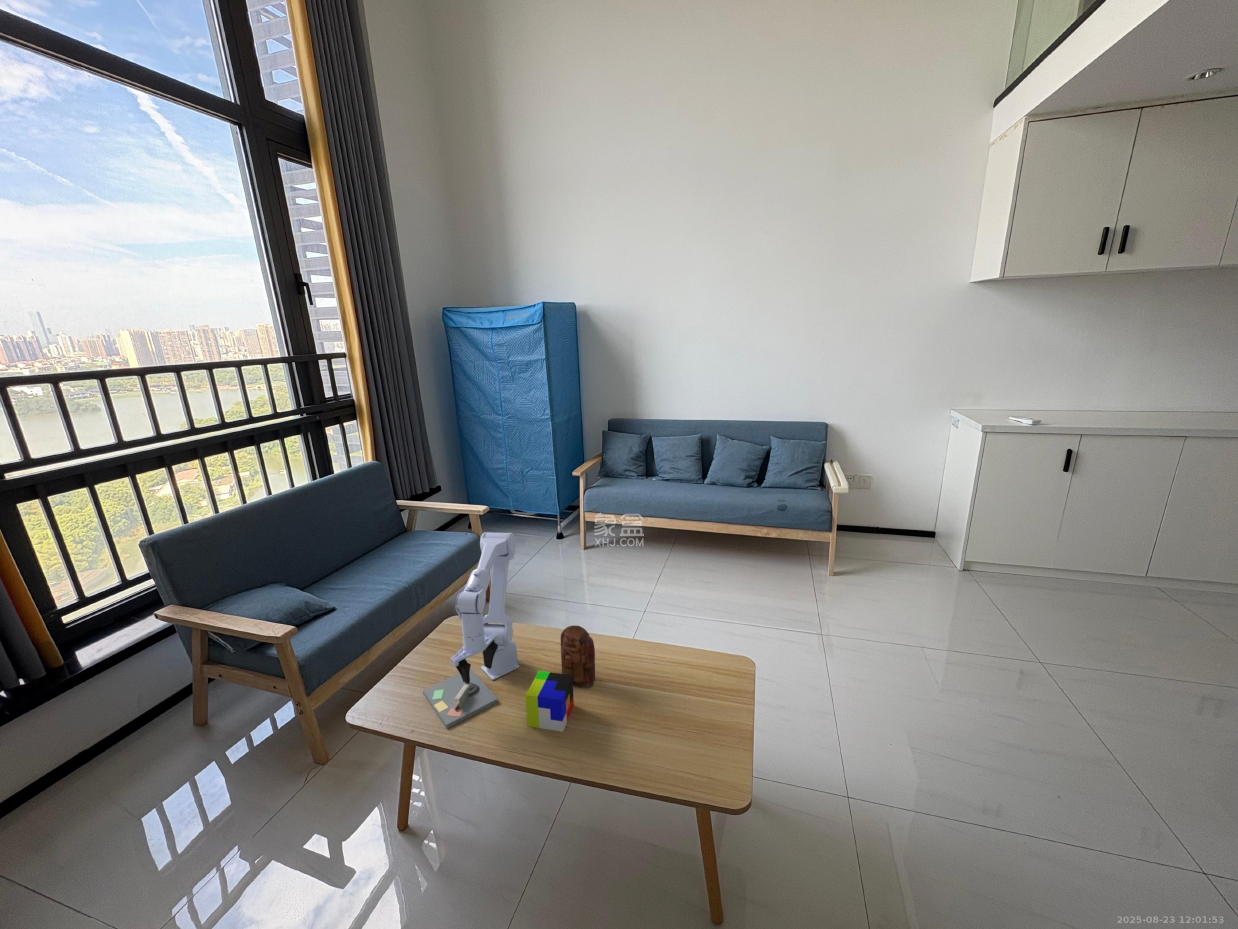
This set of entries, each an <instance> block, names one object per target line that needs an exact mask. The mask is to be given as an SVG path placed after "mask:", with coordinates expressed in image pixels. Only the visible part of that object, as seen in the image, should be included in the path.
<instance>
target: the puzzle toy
mask: <svg viewBox="0 0 1238 929" xmlns="http://www.w3.org/2000/svg"><path fill="white" fill-rule="evenodd" d="M574 702H575V700H574V686H573V675H568V674H562V673H558V672H551V671H542V670H538V672H537V674H536V675H535V677H534V679H533V681H532V682H531V685H530V686H529V689H528V690H527V692H526V694H525V705H526V706H525V707H526V720H527V727H528V728H529V727H530V728H535V729H536V728H537V729H542V730H550V731H555V732H556V731H557V732H562V733H563V732H564V731H565V728H566V725H567V723H568V721H569V718H570V716H571V713H572V710H573V708H574V707H575V703H574Z"/></svg>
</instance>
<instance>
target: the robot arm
mask: <svg viewBox="0 0 1238 929" xmlns="http://www.w3.org/2000/svg"><path fill="white" fill-rule="evenodd" d="M479 540H480V541H479V547H480V552H481V555H480V558H479V562H478V564H477V567H476V569H473V570H472V571H471V573H470V575H469V578H468V580H467V582H466V584H465V586H464V589H463V591H461V592H459V593H458V594H457V596H456V600H455V611H456V613H457V615H458V618H459V620H460V621H461V632H462V640H463V641H462V642H463V643H462V647H461V648H460V649H459V650H458V651H457V652H456V654H455V655H453V656H452V657H450V665H451V666H453V667H455V668H456V670H457V671H458V672H459V673H460V675H461V677H462V680H463V682H465V683H466V684H469V683H470V669H471V666H472V664H471V663H469V662H468V660H467V659H469V658H471V657H474V656H476V655H479V654H482V656H483V664H484V665H481V670H482V671H483V672H484V673H485V674H486V675H487V677H488V678H489V679H490V680H491V681H494V680H496V679H498V678H500V677H502V676H504V675H506V674H509V673H511V672H513V671H515V670H516V669H519V668H520V665H519V663H518V662H519V659H518V648H517V643H516V642H515V640H514V639H513V636H514V629H513V620H512V619H511V617H510V616H508V615H507V614H506V613H505V609H506V596H507V588H508V587H507V586H508V573H509V565H510V561H511V560H513V559H514V558H515V554H516V543H517V542H516V537H515V534H514V533H513V532H488V531H484V532H483V533H482V534H481V536H480V539H479ZM491 570H492V573H490V572H491ZM490 582H491V584H490ZM489 584H490V594H489V606H488V613H487V614H486V615H485V616H484V614H483V612H484V608H485V605H486V599H487V590H488V587H489ZM459 673H458V674H459Z"/></svg>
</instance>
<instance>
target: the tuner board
mask: <svg viewBox="0 0 1238 929" xmlns="http://www.w3.org/2000/svg"><path fill="white" fill-rule="evenodd" d="M470 683H473V684H476V685H477V691H476V692H475V693H474V694H471V695H469V696H468V698H467V699H466V701H465V702H464V704H463V705H462V707H461V708H460V709H459V708H458V710H455V699H454V698H455V697H456V696H457V694H458V693H459V691H460V690H461V688H462V687H463V685H464V684H465V685H466V683H465V682H463V680H462V677H461V675H460V673H458V674H455V675H452V676H451V677H448V678H447V679H444V680H442V681H439V682H437V683H435V684H433V685H430V686H429V687H426V688H423V689H422V694H423V696H424V697H425V698H426V700H427V702H428V703H429V705H430V706H431V707H432V709H433V711H434V712H435V714H436V715H437V717H438V718H439V719H440V721H441V723H442V724H443V726H444V727H445V728H446V729H449V728H450V727H452V726H455V725H456V724H459V723H460V722H462V721H464V720H466V719H468V718H470V717H472V716H474V715H476V714H478V713H479V712H482V711H483V710H486V709H487V708H489V707H492V706H493V705H495V704H497V703H498V698H497V697H496V695H494V693H493V692H492V691H491V689H490V688H489V687H488V686H487V685H486V684H485V683H484V682H483V681H482V679H481V678H480V677H479V676H478V675H477V674H476V672H474V670H473V669H472V668H470Z"/></svg>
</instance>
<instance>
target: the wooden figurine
mask: <svg viewBox="0 0 1238 929" xmlns="http://www.w3.org/2000/svg"><path fill="white" fill-rule="evenodd" d="M594 644H595V642H594V639H593V638H592V637H591V636H590V633H589V632H588V630H586V629H585V628H584V627H582V626H580V625H570V626H566V627H565V628H564V629H563V631H562V632H561V634H560V652H561V653H560V658H561V662H560V663H561V674H568V675H573V687H576V688H582V687H585V688H588V689H590V688H592V687H593V685H594V683H595V681H596V651H595V650H596V649H595V645H594Z"/></svg>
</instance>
